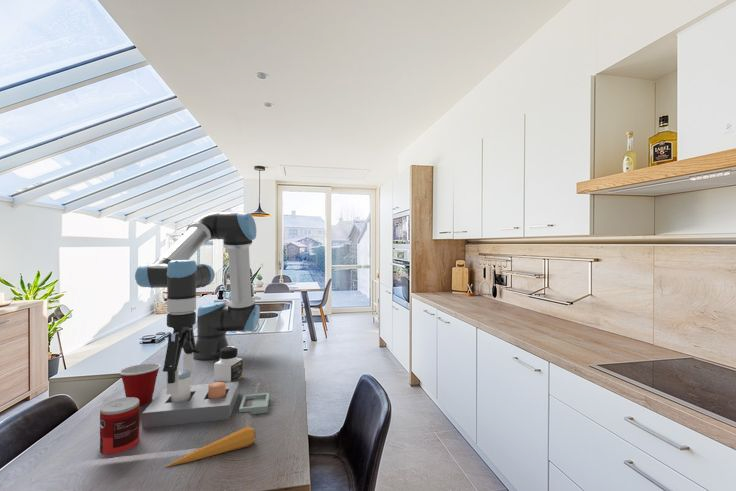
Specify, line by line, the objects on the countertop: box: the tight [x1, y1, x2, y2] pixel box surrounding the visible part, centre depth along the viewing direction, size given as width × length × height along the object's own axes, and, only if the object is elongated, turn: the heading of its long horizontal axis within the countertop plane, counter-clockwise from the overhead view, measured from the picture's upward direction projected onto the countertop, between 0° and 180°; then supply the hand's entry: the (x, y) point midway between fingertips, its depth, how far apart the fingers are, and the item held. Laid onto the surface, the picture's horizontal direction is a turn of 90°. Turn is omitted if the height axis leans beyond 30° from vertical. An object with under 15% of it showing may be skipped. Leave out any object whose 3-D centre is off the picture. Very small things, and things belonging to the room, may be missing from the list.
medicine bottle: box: [213, 345, 243, 383], centre depth 122 cm, size 7×7×12 cm
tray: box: [238, 392, 270, 415], centre depth 102 cm, size 9×8×2 cm
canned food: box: [99, 396, 141, 458], centre depth 81 cm, size 8×8×11 cm
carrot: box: [164, 426, 256, 468], centre depth 79 cm, size 20×4×4 cm, turn 120°
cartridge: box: [171, 369, 192, 403], centre depth 98 cm, size 5×5×11 cm
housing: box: [141, 381, 240, 429], centre depth 98 cm, size 16×22×5 cm
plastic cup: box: [118, 362, 161, 407], centre depth 102 cm, size 11×11×12 cm
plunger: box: [208, 381, 227, 399], centre depth 100 cm, size 5×5×6 cm
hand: (180, 383), depth 97 cm, fingers open, 13 cm apart
